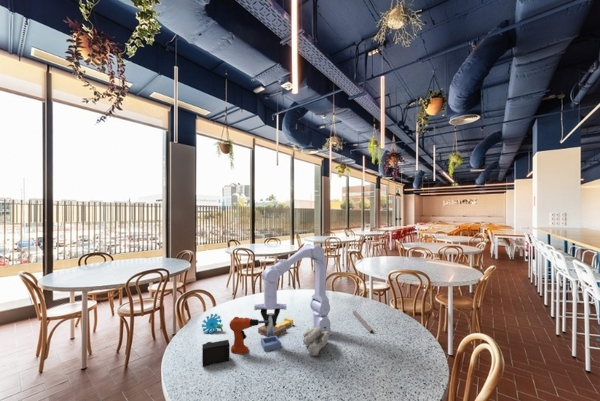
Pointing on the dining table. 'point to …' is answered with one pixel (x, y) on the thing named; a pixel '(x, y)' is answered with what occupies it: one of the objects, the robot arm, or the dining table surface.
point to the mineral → (315, 339)
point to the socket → (277, 331)
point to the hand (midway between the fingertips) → (270, 325)
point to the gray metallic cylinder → (270, 324)
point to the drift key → (285, 322)
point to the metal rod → (363, 322)
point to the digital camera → (215, 352)
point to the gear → (212, 323)
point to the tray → (270, 343)
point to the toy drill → (241, 333)
